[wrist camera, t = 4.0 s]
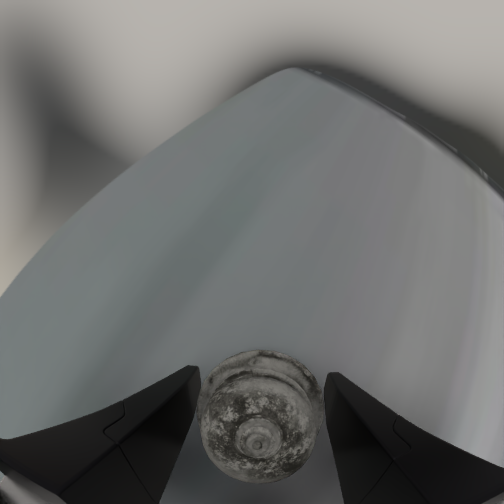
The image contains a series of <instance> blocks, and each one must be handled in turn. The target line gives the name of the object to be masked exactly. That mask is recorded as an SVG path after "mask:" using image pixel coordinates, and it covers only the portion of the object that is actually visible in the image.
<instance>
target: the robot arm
mask: <svg viewBox="0 0 504 504" xmlns="http://www.w3.org/2000/svg"><path fill="white" fill-rule="evenodd" d="M200 388H201V379H200V371H199V367H198V366H192V365H188V366H186V367H184V368H182V369H180V370H178V371H177V372H175V373H173V374H171V375H169V376H168V377H166V378H164V379H162V380H160V381H158V382H156V383H155V384H153V385H151V386H149V387H147V388H145V389H143V390H141V391H139V392H137V393H136V394H134V395H132V396H130V397H128V398H126V399H124V400H123V401H119V402H117V403H115V404H113V405H111V406H109V407H106V408H104V409H102V410H99V411H97V412H94V413H92V414H89V415H86V416H83V417H81V418H78V419H75V420H72V421H69V422H66V423H63V424H60V425H57V426H54V427H50V428H47V429H44V430H41V431H37V432H34V433H30V434H27V435H23V436H20V437H16V438H12V439H1V438H0V471H1V472H2V473H3V474H4V475H5V476H4V477H3V479H2V480H1V482H0V504H159V502H160V499H161V497H162V494H163V492H164V489H165V487H166V485H167V482H168V480H169V477H170V475H171V472H172V470H173V467H174V465H175V463H176V460H177V458H178V455H179V453H180V450H181V448H182V445H183V443H184V440H185V438H186V435H187V433H188V430H189V428H190V426H191V423H192V420H193V418H194V414H195V410H196V405H197V401H198V397H199V393H200ZM324 402H325V413H326V424H327V429H328V433H329V438H330V442H331V446H332V450H333V455H334V459H335V464H336V468H337V472H338V477H339V481H340V486H341V491H342V495H343V500H344V504H504V468H502V467H499V466H497V465H495V464H492V463H490V462H488V461H486V460H483V459H481V458H479V457H477V456H475V455H473V454H470V453H468V452H466V451H464V450H462V449H460V448H458V447H456V446H454V445H452V444H450V443H448V442H446V441H444V440H442V439H440V438H438V437H436V436H434V435H432V434H430V433H428V432H426V431H424V430H422V429H421V428H419V427H417V426H415V425H414V424H412V423H411V422H409V421H408V420H406V419H404V418H403V417H402V416H400V415H398V414H397V413H395V412H394V411H392V410H391V409H389V408H388V407H386V406H385V405H384V404H382V403H381V402H379V401H378V400H377V399H375V398H374V397H372V396H371V395H369V394H368V393H367V392H365V391H364V390H362V389H361V388H360V387H358V386H357V385H356V384H354V383H353V382H351V381H350V380H349V379H347V378H346V377H345V376H343V375H342V374H340V373H339V372H330V373H328V375H327V379H326V383H325V387H324ZM397 415H398V416H397Z"/></svg>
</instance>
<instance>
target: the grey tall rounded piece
mask: <svg viewBox="0 0 504 504" xmlns="http://www.w3.org/2000/svg"><path fill="white" fill-rule="evenodd" d="M196 411H197V417H198V423H199V427H200V429H201V430H200V431H201V437H202V442H203V447H204V449H205V451H206V453H207V454H208V456H209V458H210V460H211V461H212V462H213V463H214V464H215V465H216V466H217V467H218V468H219V469H220V470H221V471H223V472H224V473H226V474H227V475H229V476H230V477H232V478H235V479H238V480H240V481H243V482H247V483H257V484H263V483H270V482H276V481H279V480H281V479H284V478H286V477H289V476H290V475H292V474H293V473H294V472H296V471H297V470H298V469H300V468H301V467H302V466H303V464H304V463H305V462H306V461H307V459H308V458H309V457H310V454H311V452H312V450H313V447H314V445H315V441H316V437H317V435H318V432H319V429H320V427H321V424H322V422H323V413H324V402H323V397H322V392H321V389H320V387H319V385H318V383H317V381H316V379H315V377H314V376H313V375H312V374H311V373H310V372H309V370H308V369H307V368H306V367H305V366H304V365H303V364H301V363H300V362H298V361H297V360H295V359H293V358H292V357H290V356H288V355H285V354H282V353H279V352H276V351H267V350H254V351H247V352H241V353H239V354H237V355H234V356H232V357H230V358H227V359H226V360H224V361H223V362H222V363H220V364H219V365H218V366H217V367H215V368H214V369H213V370H212V372H211V373H210V374H209V375H208V377H207V378H206V379H205V381H204V383H203V385H202V387H201V390H200V393H199V397H198V401H197V410H196Z"/></svg>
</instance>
